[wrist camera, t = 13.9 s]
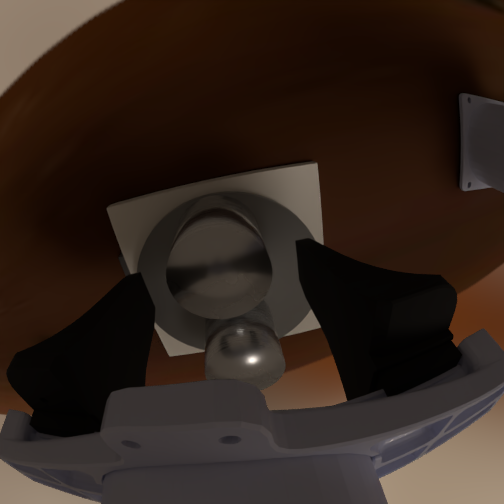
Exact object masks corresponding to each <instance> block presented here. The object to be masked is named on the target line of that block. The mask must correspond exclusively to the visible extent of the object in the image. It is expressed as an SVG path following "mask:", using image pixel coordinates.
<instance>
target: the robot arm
mask: <svg viewBox="0 0 504 504" xmlns="http://www.w3.org/2000/svg"><path fill="white" fill-rule="evenodd" d="M467 99H468V100H467ZM459 107H460V126H461V164H460V184H459V185H460V189H461V190H463V191H469V190H476V189H483V188H490V187H493V188H495V189H497V190H499V191H501V192H503V193H504V102H500V101H496V100H492V99H488V98H484V97H480V96H475V95H471V94H466V93H460V95H459ZM295 243H296V253H297V264H298V274H299V281H300V284H301V287H302V290H303V292H304V295H305V298H306V300H307V301H308V303H309V305H310V307H311V309H312V311H313V313H314V315H315V317H316V319H317V320H318V322H319V324H320V326H321V328H322V330H323V332H324V334H325V336H326V338H327V341H328V343H329V346H330V349H331V351H332V354H333V357H334V360H335V363H336V366H337V369H338V372H339V374H340V378H341V381H342V384H343V388H344V391H345V394H346V398H347V401H346V402H343V403H340V404H336V405H333V406H326V407H316V408H305V409H291V410H271V411H270V410H269V409H268V407H267V405H266V401H265V397H264V395H263V394H262V393H261V391H260V390H259V389H258V388H257V387H256V386H255V385H252V384H249V383H246V382H243V381H240V380H237V379H211V380H204V381H196V382H188V383H180V384H170V385H159V386H146V387H145V377H146V367H147V361H148V356H149V351H150V346H151V341H152V336H153V331H154V325H155V309H156V308H155V305H154V303H153V301H152V298H151V296H150V294H149V291H148V289H147V287H146V284H145V282H144V279H143V277H142V274H141V272H138V273H133V274H129V275H127V276H126V277H125V278H123V279H122V280H121V281H120V282H119V283H118V284H117V285H116V286H114V287H113V288H112V289H111V290H110V291H109V292H108V293H107V294H106V295H105V296H104V297H103V298H102V299H101V300H100V301H98V302H97V303H96V304H95V305H94V306H93V307H92V308H91V309H90V310H89V311H87V312H86V313H85V314H84V315H83V316H81V317H80V318H79V319H77V320H76V321H75V322H73V323H72V324H71V325H69V326H68V327H66V328H65V329H63V330H61V331H60V332H58V333H57V334H55V335H54V336H52V337H50V338H48V339H46V340H44V341H43V342H41V343H39V344H37V345H34V346H32V347H30V348H27V349H25V350H23V351H20V352H17V353H16V354H15V356H14V358H13V360H12V361H11V363H10V365H9V367H8V369H7V373H6V374H7V378H8V381H9V383H10V384H11V386H12V387H13V388H14V390H15V391H16V392H17V393H18V394H19V395H20V396H21V397H22V398H23V399H24V400H25V401H26V403H27V404H28V405H29V406H30V407H31V408H32V409H34V412H33V414H32V417H31V416H30V415H29V414H27V413H25V412H21V411H16V410H11V409H10V410H9V411H8V413H7V416H6V419H5V422H4V424H3V427H2V430H1V433H0V459H2V460H3V461H4V462H6V463H7V464H9V465H10V466H11V467H13V468H15V469H16V470H17V471H19V472H21V473H22V474H24V475H25V476H27V477H28V478H30V479H32V480H33V481H35V482H38V483H41V484H43V485H46V486H49V487H52V488H55V489H58V490H61V491H64V492H67V493H70V494H73V495H76V496H79V497H82V498H86V499H89V500H93V501H97V502H100V503H101V504H388V503H387V500H386V498H385V495H384V492H383V489H382V487H381V484H380V481H379V478H381V477H383V476H385V475H388V474H390V473H392V472H394V471H396V470H397V469H400V468H402V467H404V466H405V465H407V464H409V463H411V462H413V461H415V460H416V459H418V458H420V457H422V456H423V455H425V454H427V453H428V452H430V451H432V450H433V449H435V448H436V447H438V446H440V445H441V444H443V443H445V442H446V441H447V440H449V439H451V438H452V437H454V436H455V435H457V434H458V433H460V432H461V431H462V430H464V429H465V428H467V427H468V426H470V425H471V424H472V423H474V422H475V421H477V420H478V419H479V418H481V417H482V416H483V415H485V414H486V413H487V412H489V411H490V410H491V409H492V408H493V406H494V405H495V404H496V402H497V401H498V400H499V399H500V398H501V396H502V395H503V394H504V351H503V350H502V349H501V348H500V346H499V345H498V344H497V343H496V342H495V340H494V339H493V338H492V337H491V336H490V335H489V334H488V332H487V331H486V330H485V329H481V330H479V331H477V332H476V333H474V334H472V335H470V336H469V337H467V338H465V339H464V340H463V341H462V342H461V343H460V344H459V346H458V347H456V346H455V345H454V343H453V342H452V341H451V340H452V339H453V334H452V333H451V332H450V330H449V329H448V328H449V326H450V323H451V321H452V318H453V314H454V312H455V308H456V304H457V293H456V291H455V289H454V288H453V287H452V286H451V285H450V284H449V283H448V282H447V281H446V280H445V279H444V278H443V277H442V276H441V275H429V274H412V273H404V272H397V271H392V270H387V269H383V268H379V267H375V266H371V265H368V264H365V263H362V262H359V261H357V260H354V259H352V258H349V257H347V256H345V255H342V254H340V253H338V252H336V251H334V250H332V249H330V248H328V247H326V246H324V245H322V244H320V243H319V242H317V241H315V240H313V239H310V238H306V239H301V240H296V241H295Z"/></svg>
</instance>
